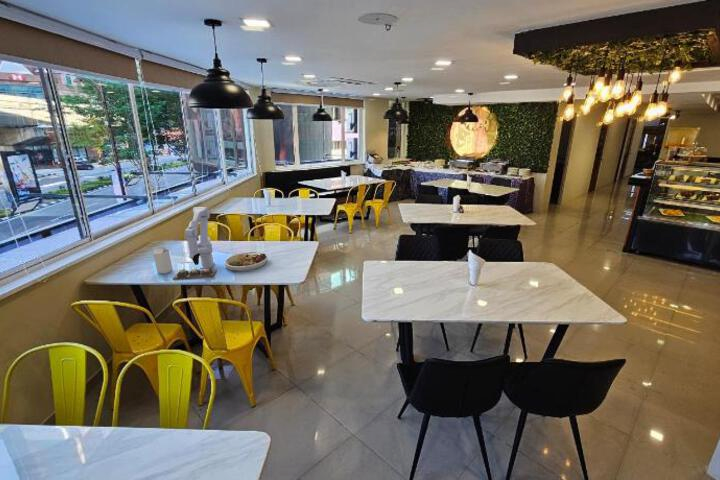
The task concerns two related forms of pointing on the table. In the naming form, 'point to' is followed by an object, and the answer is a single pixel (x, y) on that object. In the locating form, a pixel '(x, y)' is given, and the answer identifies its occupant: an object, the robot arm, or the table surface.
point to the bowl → (246, 261)
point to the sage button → (182, 270)
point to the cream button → (194, 270)
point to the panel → (195, 274)
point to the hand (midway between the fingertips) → (196, 264)
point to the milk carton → (162, 260)
